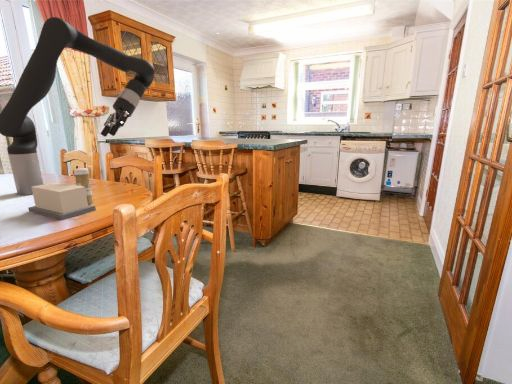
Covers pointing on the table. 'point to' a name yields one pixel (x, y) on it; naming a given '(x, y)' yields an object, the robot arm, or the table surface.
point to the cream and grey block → (60, 200)
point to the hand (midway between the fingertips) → (107, 135)
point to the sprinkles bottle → (84, 182)
